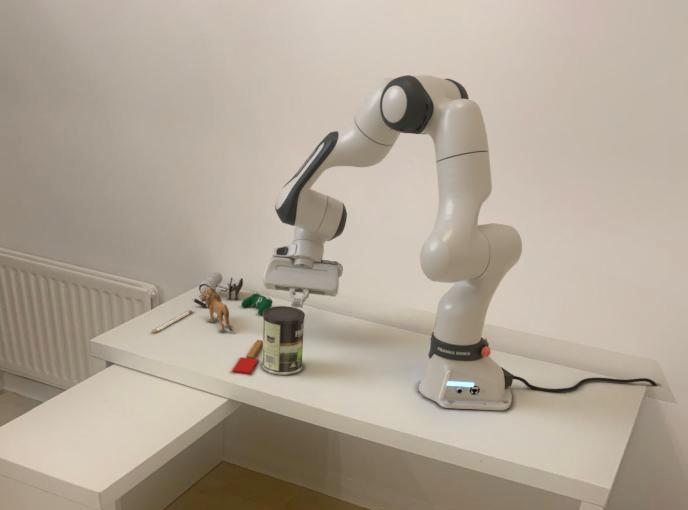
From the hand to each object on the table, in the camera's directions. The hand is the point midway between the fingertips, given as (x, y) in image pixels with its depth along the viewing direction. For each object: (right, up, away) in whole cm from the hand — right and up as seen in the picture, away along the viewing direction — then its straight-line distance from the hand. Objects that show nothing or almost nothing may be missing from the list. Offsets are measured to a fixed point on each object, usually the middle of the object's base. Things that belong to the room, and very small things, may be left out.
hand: (296, 306), depth 197 cm
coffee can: (-4, -17, -6) cm, 19 cm away
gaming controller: (-12, +6, +26) cm, 29 cm away
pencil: (-35, -1, +14) cm, 38 cm away
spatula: (-12, -14, -3) cm, 19 cm away
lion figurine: (-23, -1, +15) cm, 27 cm away
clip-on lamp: (-25, +10, +31) cm, 41 cm away
